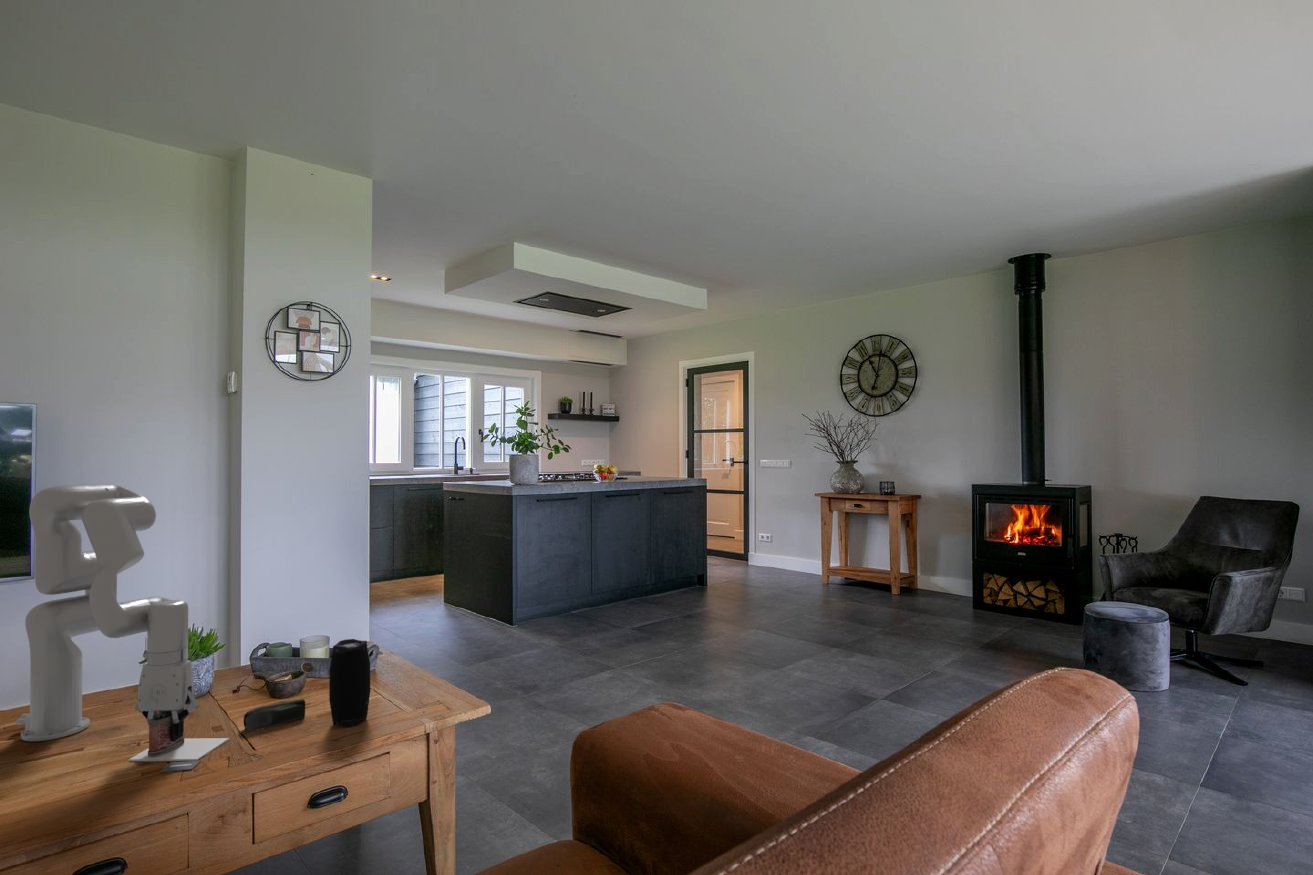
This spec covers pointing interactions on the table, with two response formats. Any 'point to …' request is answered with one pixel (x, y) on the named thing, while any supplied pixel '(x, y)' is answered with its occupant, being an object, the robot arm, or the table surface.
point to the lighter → (161, 734)
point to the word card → (180, 766)
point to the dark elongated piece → (273, 715)
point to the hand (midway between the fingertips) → (166, 738)
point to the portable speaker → (349, 682)
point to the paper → (185, 750)
